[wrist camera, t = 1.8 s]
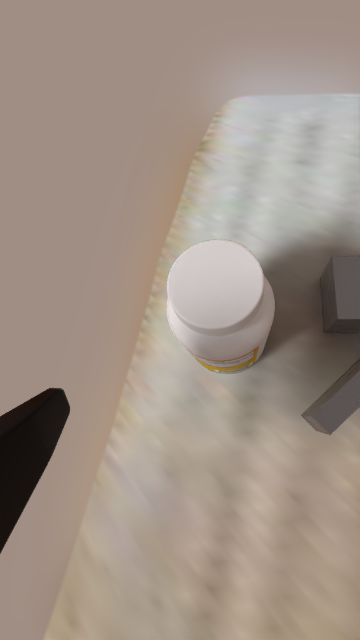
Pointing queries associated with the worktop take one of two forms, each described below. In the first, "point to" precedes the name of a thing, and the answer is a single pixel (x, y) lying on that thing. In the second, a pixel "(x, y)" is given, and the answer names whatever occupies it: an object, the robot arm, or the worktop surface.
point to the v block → (339, 316)
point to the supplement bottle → (220, 305)
